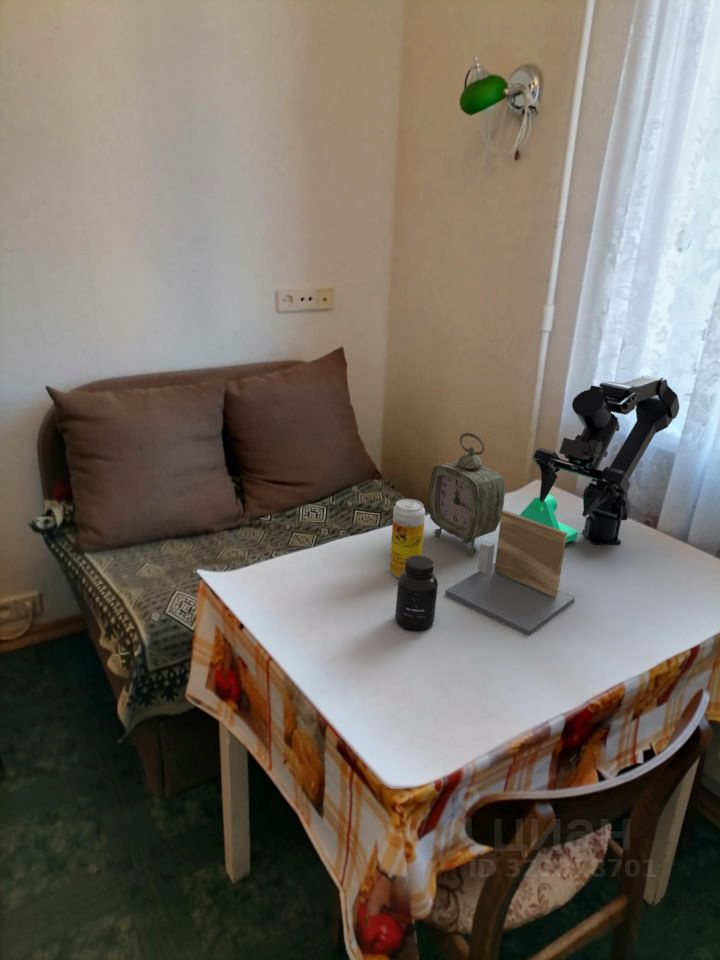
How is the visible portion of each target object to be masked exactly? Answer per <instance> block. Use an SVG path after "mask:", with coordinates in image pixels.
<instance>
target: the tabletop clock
mask: <svg viewBox="0 0 720 960" xmlns="http://www.w3.org/2000/svg"><path fill="white" fill-rule="evenodd" d="M464 437H471V438H474V439H475V440H477V441H478V442H479V443H480V445H481V451H476V450H474V449H475V447H473V446H469V447H467V446H465V445H464V444H463V439H464ZM459 445H460V446H461V449H463V450H464V451H465V452H467V453H466V454H462V455H461V456H460V457H459V460H458V459H457V460H455V461H450V462H447V463H443V464H438V465H435V466H434V467H433V469H432V472H431V477H430V483H429V490H428V511H429V517H430V520H431V521H432V522H433V523H434V524H435V526H438V527H439V528H436V529H435V530H434V532H433V534H434V535H435V536H436V537H439V536H441V535H442V531H443V530H444V531H445V532H447V533H449V534H450V535H453V536H455V537H457V538H459V539H462V540H465V541H466V540H467V541H470V548H469V549H468V554H469V555H470V556H474V555H476V554H477V549H476V547H475V541H476V539H477V538H479V537H483V536H485V535H488V534H491V533H495V531H496V530H497V528H498V526H499V525H500V521H501V513H502V511H504V506H505V505H504V503H505V494H506V483H505V478H504V477H503V475H502V474H501V473H499V472H497V471H496V470H493V469H491V468H489V467H487V466H485V465H483V463H482V459H481V458H480V456H478V455H482V454H483V453H484V452H485V448H486V447H485V444H484V441H483V439H482V438H480V437H479V436H478V435H477V434H474V433H471V432H465V433H462V434H461V436H460V437H459Z"/></svg>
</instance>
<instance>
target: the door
mask: <svg viewBox="0 0 720 960" xmlns="http://www.w3.org/2000/svg"><path fill="white" fill-rule="evenodd" d="M519 515H520V514H517V513H514V512H511V511H508V510H505V509H503V511H502V513H501V520H500V523H499V528H498V529H499V530H498V539H497V547H496V554H495V562H494V563H495V570H494V571H495V572H497V573H500V574H502V575H504V576H506V577H509V578H511V579H513V580H515V581H518V582H520V583H522V584H525V585H527V586H529V587H531V588H534V589H536V590H538V591H541V592H543V593H545V594H547V595H550V596H552V597H556V596H557V593H558V590H559V586H560V585H559V584H560V579H561V573H562V568H563V561H564V555H565V548H566V538H567V533H566V532H563V531H561V530H558V529H555V528H552V527H550V526H547V525H544V524H541V523H539V522H536V521H533V520H530V519H528V518H525V517H522V516H519Z"/></svg>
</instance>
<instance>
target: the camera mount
mask: <svg viewBox="0 0 720 960" xmlns="http://www.w3.org/2000/svg"><path fill="white" fill-rule="evenodd" d="M557 508H558V503H557V499H556V497H554V496H553V495H552V494H548V495H547V497H546V499H545V500H544V501H543V502H541V501H540V496H537V497H534V498H533V499H532V500H531V502H529V504H528V505H527V506H526V507H525V508H524V509H523V510H522V511H521V513H520V514H518V515H519V516H522V517H525V518H528V519H530V520H533V521H536V522H539V523H541V524H544V525H547V526H550V527H552V528H555V529H558V530H561V531H563V532H566V533H567V538H566V543H570V542H572V541H574V540H577V539H578V535H579V534H578V533H579V531H578V530H577V529H575V528H573V527H572V526H569V525H566V524H564V523H562V522H559V521H558V520H557V517H556V514H555V512H556V511H557Z"/></svg>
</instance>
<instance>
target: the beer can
mask: <svg viewBox="0 0 720 960" xmlns="http://www.w3.org/2000/svg"><path fill="white" fill-rule="evenodd" d="M423 503H424V502H423ZM423 503H422V502H421V501H419V500H417V499H414V498H413V499H412V498H405V499H400V500H398V501H396V502H395V505H394V506H393V508H392V509H393V511H392V512H393V513H392V526H391V530H392V531H391V543H390V544H391V545H390V561H389V562H390V564H389V570H390V572H391V573H392V575H393V576H394V577H395V578H396V579H399V576H400V575H401V573H402V572H404V571H405V564H406V560H407V558H409V557H411V556H423V543H424V531H425V520H426V519H425V518H426V517H425V515H426V509H425V507H424V504H423Z"/></svg>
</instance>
